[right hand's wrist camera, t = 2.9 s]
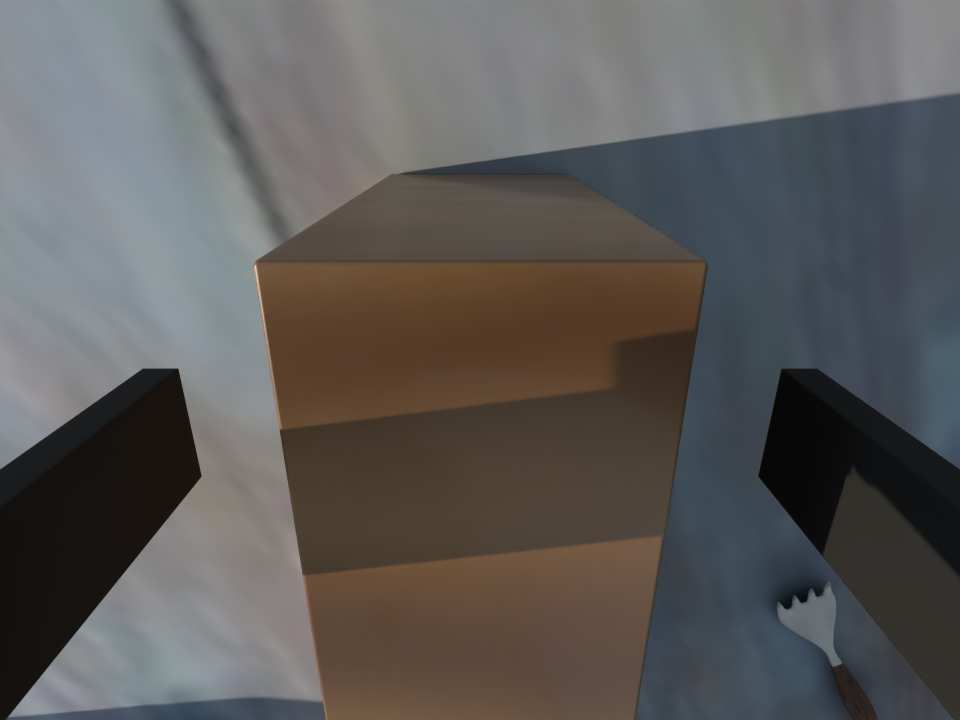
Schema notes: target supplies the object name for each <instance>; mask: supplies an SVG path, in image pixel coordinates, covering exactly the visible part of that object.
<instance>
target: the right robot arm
mask: <svg viewBox="0 0 960 720" xmlns="http://www.w3.org/2000/svg"><path fill="white" fill-rule="evenodd" d="M201 477H202V476H201V471H200V467H199V462H198V458H197V453H196V448H195V444H194V439H193V434H192V430H191V425H190V421H189V416H188V411H187V407H186V402H185V397H184V393H183V388H182V384H181V379H180V374H179V370H178V369H142V370H140V371H139V372H138V373H136V374H135V375H133V376H132V377H131V378H129V379H128V380H126V381H125V382H124V383H122V384H121V385H119V386H118V387H116V388H115V389H114V390H112V391H111V392H109V393H108V394H107V395H105V396H104V397H102V398H101V399H99V400H98V401H97V402H95V403H94V404H92V405H91V406H90V407H88V408H87V409H85V410H84V411H82V412H81V413H80V414H78V415H77V416H75V417H74V418H73V419H71V420H70V421H68V422H67V423H65V424H64V425H63V426H61V427H60V428H58V429H57V430H56V431H54V432H53V433H51V434H50V435H48V436H47V437H46V438H44V439H43V440H41V441H40V442H39V443H37V444H36V445H34V446H33V447H31V448H30V449H29V450H27V451H26V452H24V453H23V454H22V455H20V456H19V457H17V458H16V459H15V460H13V461H12V462H10V463H9V464H7V465H6V466H5V467H3V468H2V469H0V720H6V719H7V718H8V716H9V715H10V714H11V713H12V711H13V710H14V709H15V708H16V706H17V705H18V704H19V703H20V701H21V700H22V699H23V698H24V696H25V695H26V694H27V693H28V691H29V690H30V689H31V688H32V686H33V685H34V684H35V683H36V681H37V680H38V679H39V678H40V677H41V675H42V674H43V673H44V672H45V670H46V669H47V668H48V667H49V665H50V664H51V663H52V662H53V660H54V659H55V658H56V657H57V655H58V654H59V653H60V652H61V650H62V649H63V648H64V647H65V645H66V644H67V643H68V642H69V641H70V639H71V638H72V637H73V636H74V634H75V633H76V632H77V631H78V629H79V628H80V627H81V626H82V624H83V623H84V622H85V621H86V619H87V618H88V617H89V616H90V614H91V613H92V612H93V611H94V609H95V608H96V607H97V606H98V604H99V603H100V602H101V601H102V600H103V598H104V597H105V596H106V595H107V593H108V592H109V591H110V590H111V588H112V587H113V586H114V585H115V583H116V582H117V581H118V580H119V578H120V577H121V576H122V575H123V573H124V572H125V571H126V570H127V568H128V567H129V566H130V565H131V564H132V562H133V561H134V560H135V559H136V557H137V556H138V555H139V554H140V552H141V551H142V550H143V549H144V547H145V546H146V545H147V544H148V542H149V541H150V540H151V539H152V537H153V536H154V535H155V534H156V532H157V531H158V530H159V529H160V527H161V526H162V525H163V524H164V523H165V521H166V520H167V519H168V518H169V516H170V515H171V514H172V513H173V511H174V510H175V509H176V508H177V506H178V505H179V504H180V503H181V501H182V500H183V499H184V498H185V496H186V495H187V494H188V493H189V491H190V490H191V489H192V488H193V487H194V485H195V484H196V483H197V482H198V480H199V479H200V478H201ZM758 477H759V478H760V479H761V480H762V482H763V483H764V484H765V485H766V487H767V488H768V489H769V490H770V491H771V493H772V494H773V495H774V496H775V498H776V499H777V500H778V501H779V503H780V504H781V505H782V506H783V508H784V509H785V510H786V511H787V513H788V514H789V515H790V516H791V518H792V519H793V520H794V521H795V523H796V524H797V525H798V526H799V527H800V529H801V530H802V531H803V532H804V534H805V535H806V536H807V537H808V539H809V540H810V541H811V542H812V544H813V545H814V546H815V547H816V549H817V550H818V551H819V552H820V554H821V555H822V556H823V557H824V559H825V560H826V561H827V562H828V564H829V565H830V566H831V567H832V568H833V570H834V571H835V572H836V573H837V575H838V576H839V577H840V578H841V580H842V581H843V582H844V583H845V585H846V586H847V587H848V588H849V590H850V591H851V592H852V593H853V595H854V596H855V597H856V598H857V600H858V601H859V602H860V603H861V604H862V606H863V607H864V608H865V609H866V611H867V612H868V613H869V614H870V616H871V617H872V618H873V619H874V621H875V622H876V623H877V624H878V626H879V627H880V628H881V629H882V631H883V632H884V633H885V634H886V636H887V637H888V638H889V639H890V641H891V642H892V643H893V644H894V645H895V647H896V648H897V649H898V650H899V652H900V653H901V654H902V655H903V657H904V658H905V659H906V660H907V662H908V663H909V664H910V665H911V667H912V668H913V669H914V670H915V672H916V673H917V674H918V675H919V677H920V678H921V679H922V680H923V681H924V683H925V684H926V685H927V686H928V688H929V689H930V690H931V691H932V693H933V694H934V695H935V696H936V698H937V699H938V700H939V701H940V703H941V704H942V705H943V706H944V708H945V709H946V710H947V711H948V713H949V714H950V715H951V716H952V718H953V719H954V720H960V469H958V468H957V467H955V466H954V465H953V464H951V463H950V462H948V461H947V460H945V459H944V458H943V457H941V456H940V455H938V454H937V453H936V452H934V451H933V450H931V449H930V448H929V447H927V446H926V445H924V444H923V443H921V442H920V441H919V440H917V439H916V438H914V437H913V436H912V435H910V434H909V433H907V432H906V431H904V430H903V429H902V428H900V427H899V426H897V425H896V424H895V423H893V422H892V421H890V420H889V419H887V418H886V417H885V416H883V415H882V414H880V413H879V412H878V411H876V410H875V409H873V408H872V407H870V406H869V405H868V404H866V403H865V402H863V401H862V400H861V399H859V398H858V397H856V396H855V395H853V394H852V393H851V392H849V391H848V390H846V389H845V388H844V387H842V386H841V385H839V384H838V383H836V382H835V381H834V380H832V379H831V378H829V377H828V376H827V375H825V374H824V373H822V372H821V371H819V370H818V369H782V370H781V374H780V379H779V384H778V388H777V393H776V397H775V402H774V407H773V411H772V416H771V421H770V425H769V430H768V434H767V439H766V444H765V448H764V453H763V458H762V462H761V467H760V471H759V476H758Z"/></svg>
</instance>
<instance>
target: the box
mask: <svg viewBox="0 0 960 720" xmlns="http://www.w3.org/2000/svg"><path fill="white" fill-rule="evenodd" d="M707 268H708V265H707V261H705V260H704V259H702V258H701V257H699V256H697V255H696V254H694V253H693V252H691V251H689V250H688V249H686V248H685V247H683V246H682V245H680V244H678V243H677V242H675V241H674V240H672V239H671V238H669V237H667V236H666V235H664V234H663V233H661V232H660V231H658V230H656V229H655V228H653V227H652V226H650V225H648V224H647V223H645V222H644V221H642V220H641V219H639V218H637V217H636V216H634V215H633V214H631V213H630V212H628V211H626V210H625V209H623V208H622V207H620V206H619V205H617V204H615V203H614V202H612V201H611V200H609V199H608V198H606V197H604V196H603V195H601V194H600V193H598V192H596V191H595V190H593V189H592V188H590V187H589V186H587V185H585V184H584V183H582V182H581V181H579V180H578V179H576V178H574V177H573V176H571V175H569V174H392V175H390V176H388V177H387V178H385V179H383V180H382V181H380V182H379V183H377V184H376V185H374V186H372V187H371V188H369V189H368V190H366V191H365V192H363V193H361V194H360V195H358V196H357V197H355V198H354V199H352V200H350V201H349V202H347V203H346V204H344V205H343V206H341V207H339V208H338V209H336V210H335V211H333V212H332V213H330V214H328V215H327V216H325V217H324V218H322V219H321V220H319V221H317V222H316V223H314V224H313V225H311V226H310V227H308V228H306V229H305V230H303V231H302V232H300V233H299V234H297V235H295V236H294V237H292V238H291V239H289V240H288V241H286V242H284V243H283V244H281V245H280V246H278V247H277V248H275V249H273V250H272V251H270V252H269V253H267V254H266V255H264V256H262V257H261V258H259V259H258V260H256V261H255V263H254V271H255V277H256V284H257V290H258V296H259V303H260V309H261V315H262V322H263V328H264V334H265V340H266V347H267V353H268V359H269V366H270V372H271V378H272V384H273V391H274V397H275V403H276V410H277V416H278V422H279V428H280V435H281V441H282V447H283V454H284V460H285V466H286V472H287V479H288V485H289V491H290V498H291V504H292V510H293V516H294V523H295V529H296V535H297V542H298V548H299V554H300V560H301V567H302V573H303V579H304V586H305V592H306V598H307V604H308V611H309V617H310V623H311V630H312V636H313V642H314V649H315V655H316V661H317V667H318V674H319V680H320V686H321V693H322V699H323V705H324V711H325V718H326V720H635V718H636V711H637V705H638V699H639V693H640V686H641V680H642V674H643V668H644V661H645V655H646V649H647V643H648V636H649V630H650V624H651V618H652V611H653V605H654V599H655V593H656V586H657V580H658V574H659V568H660V561H661V555H662V549H663V543H664V536H665V530H666V524H667V518H668V511H669V505H670V499H671V493H672V486H673V480H674V474H675V468H676V461H677V455H678V449H679V443H680V436H681V430H682V424H683V418H684V411H685V405H686V399H687V393H688V386H689V380H690V374H691V368H692V361H693V355H694V349H695V343H696V337H697V330H698V324H699V318H700V312H701V305H702V299H703V293H704V287H705V280H706V274H707Z"/></svg>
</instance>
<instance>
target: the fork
mask: <svg viewBox="0 0 960 720" xmlns="http://www.w3.org/2000/svg"><path fill="white" fill-rule="evenodd" d="M777 613H778V618H779V620H780V621H781V623H782V624H783V625H785V626H786V627H787V628H789V629H790V630H792V631H793V632H795V633H797V634H798V635H800V636H802V637H804V638H805V639H807V640H809V641H811V642H812V643H814V644H816V645H817V646H819V647H820V648H821V649H822V650H823V651H824V652H825V653H826V654H827V656H828V659H829V661H830V664H831V667H832V670H833V674H834V677H835V680H836V683H837V686H838V689H839V692H840V695H841V698H842V700H843V702H844V704H845V706H846V708H847V710H848V712H849V713H850V715H851V716H852V718H853V719H854V720H877V717H876V714H875V711H874V709H873V706H872V704H871V703H870V701H869V699H868V697H867V696H866V694H865V693H864V691H863V690H862V688H861V687H860V686H859V684H858V683H857V682H856V680H855V679H854V678H853V676H852V675H851V674H850V672H849V671H848V670H847V668H846V667H845V666H844V664H843V663H842V662H841V660H840V659H839V657H838V656H837V654H836V652H835V650H834V645H833V636H834V626H835V618H836V599H835V596H834V594H833V592H832V590H831V583H830V582H829V581H827V582H826V584H825V587H824V591H823V594H822V595H820V596H815V593H814V591H813V589H812V588H810V590H809V593H808V599H807V601H805V602H803V603H800V602H799V600H798V598H797V597H796V596H795V595H794V596H793V600H792V606H791V607H790V608H788V609H785V608H784V607H783V606H782V605H781V604H780V603H779V602H777Z"/></svg>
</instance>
